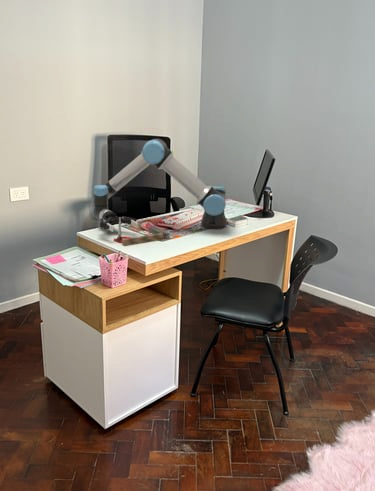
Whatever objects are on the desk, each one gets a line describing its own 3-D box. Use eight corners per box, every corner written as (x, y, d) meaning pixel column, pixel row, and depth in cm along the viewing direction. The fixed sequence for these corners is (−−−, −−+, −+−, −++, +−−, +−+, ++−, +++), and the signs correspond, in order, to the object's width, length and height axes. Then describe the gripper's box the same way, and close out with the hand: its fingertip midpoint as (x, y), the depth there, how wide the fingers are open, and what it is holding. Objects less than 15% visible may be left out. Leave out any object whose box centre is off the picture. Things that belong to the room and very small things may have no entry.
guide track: (154, 230, 243) (154, 225, 242) (169, 238, 230) (169, 233, 229) (110, 237, 229) (110, 231, 228) (124, 245, 216) (124, 240, 215)
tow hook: (124, 237, 231) (112, 241, 223) (125, 213, 227) (112, 216, 220) (136, 240, 226) (124, 244, 219) (137, 216, 223) (125, 219, 215)
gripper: (129, 221, 246) (147, 231, 229) (86, 227, 233) (102, 237, 216) (129, 208, 243) (147, 217, 226) (86, 213, 230) (101, 223, 213)
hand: (125, 227), depth 221 cm, fingers open, 13 cm apart
